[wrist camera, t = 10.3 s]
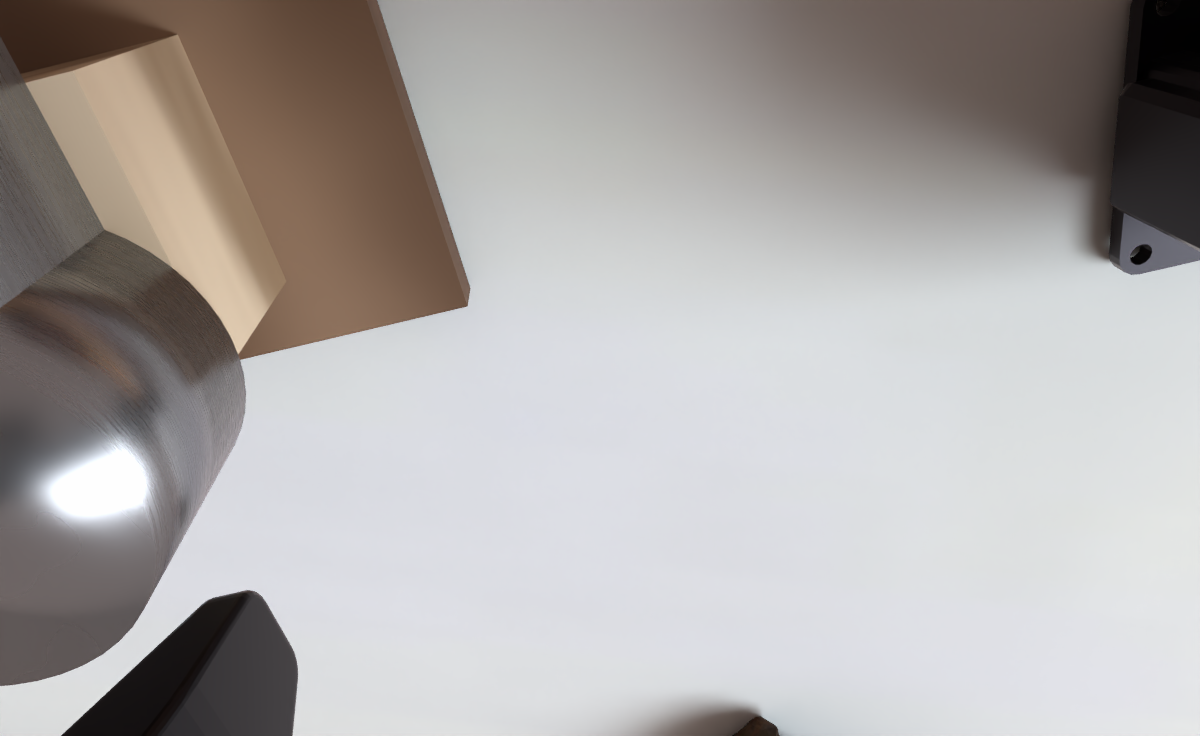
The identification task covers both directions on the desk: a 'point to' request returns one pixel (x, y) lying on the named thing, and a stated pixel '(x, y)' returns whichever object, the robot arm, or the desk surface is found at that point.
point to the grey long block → (92, 408)
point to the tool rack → (249, 155)
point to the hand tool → (758, 728)
